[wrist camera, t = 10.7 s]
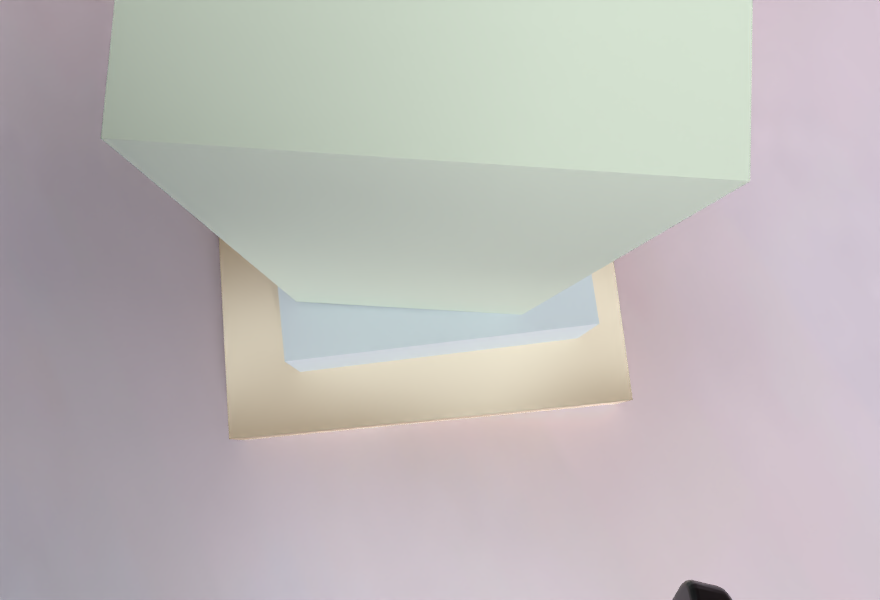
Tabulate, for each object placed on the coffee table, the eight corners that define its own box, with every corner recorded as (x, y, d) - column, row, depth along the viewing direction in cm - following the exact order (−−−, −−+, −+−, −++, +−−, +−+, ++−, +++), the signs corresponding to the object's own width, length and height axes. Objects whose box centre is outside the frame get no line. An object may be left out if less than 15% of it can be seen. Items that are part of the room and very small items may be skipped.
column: (522, 314, 18) (750, 181, 6) (296, 301, 18) (100, 138, 6) (531, 98, 19) (757, -396, 7) (312, 82, 19) (159, -456, 7)
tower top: (577, 338, 21) (599, 323, 18) (300, 372, 20) (284, 361, 18) (537, 80, 22) (552, 34, 20) (275, 107, 22) (257, 63, 19)
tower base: (609, 405, 23) (632, 399, 21) (249, 440, 23) (229, 439, 20) (565, 71, 25) (581, 30, 22) (230, 98, 24) (209, 58, 22)
